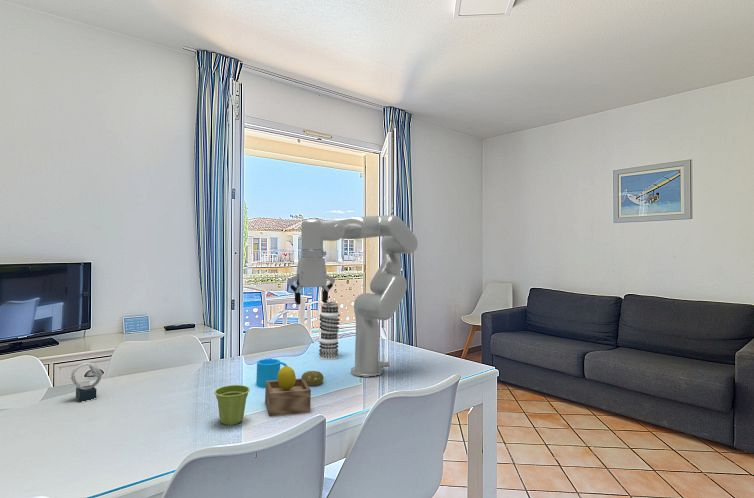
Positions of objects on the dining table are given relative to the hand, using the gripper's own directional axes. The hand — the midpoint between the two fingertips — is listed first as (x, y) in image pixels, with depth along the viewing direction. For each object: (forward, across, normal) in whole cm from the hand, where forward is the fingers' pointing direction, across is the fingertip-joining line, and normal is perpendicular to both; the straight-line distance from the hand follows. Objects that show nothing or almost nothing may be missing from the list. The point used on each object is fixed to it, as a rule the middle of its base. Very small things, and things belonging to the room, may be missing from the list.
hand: (311, 303), depth 150 cm
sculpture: (+30, -2, -3) cm, 30 cm away
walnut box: (+30, +13, +16) cm, 36 cm away
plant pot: (+29, +30, +20) cm, 46 cm away
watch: (+28, +68, -16) cm, 75 cm away
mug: (+30, +11, -9) cm, 33 cm away
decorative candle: (+31, -20, -36) cm, 51 cm away
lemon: (+25, +13, +16) cm, 32 cm away
